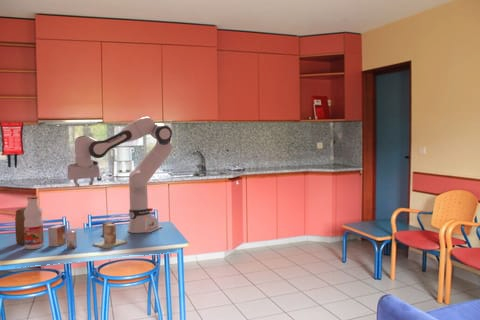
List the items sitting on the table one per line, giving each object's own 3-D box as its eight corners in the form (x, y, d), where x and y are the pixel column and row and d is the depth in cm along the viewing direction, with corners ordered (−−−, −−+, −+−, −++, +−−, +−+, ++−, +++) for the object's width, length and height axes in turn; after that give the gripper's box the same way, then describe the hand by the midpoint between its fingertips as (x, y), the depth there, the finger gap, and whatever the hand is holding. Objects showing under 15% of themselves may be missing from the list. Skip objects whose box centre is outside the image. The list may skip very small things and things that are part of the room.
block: (28, 245, 234) (27, 209, 232) (14, 245, 233) (13, 210, 232) (36, 240, 244) (35, 206, 243) (23, 240, 244) (21, 206, 243)
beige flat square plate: (113, 240, 242) (113, 238, 242) (127, 242, 236) (127, 241, 236) (92, 245, 231) (92, 243, 231) (107, 248, 224) (107, 246, 224)
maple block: (110, 241, 236) (110, 223, 236) (116, 242, 234) (115, 224, 233) (104, 242, 232) (103, 225, 232) (109, 243, 230) (109, 226, 229)
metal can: (73, 246, 230) (72, 230, 229) (78, 247, 227) (78, 231, 227) (64, 248, 226) (64, 231, 225) (70, 249, 223) (69, 233, 222)
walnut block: (109, 232, 261) (109, 221, 261) (114, 233, 259) (114, 222, 258) (102, 234, 257) (102, 223, 257) (108, 235, 255) (107, 224, 254)
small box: (57, 246, 229) (56, 227, 228) (48, 246, 230) (47, 227, 230) (66, 243, 237) (65, 224, 236) (57, 242, 238) (56, 224, 237)
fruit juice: (47, 245, 231) (45, 195, 229) (33, 250, 222) (31, 198, 221) (35, 244, 235) (33, 195, 233) (20, 248, 226) (18, 197, 224)
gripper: (71, 164, 238) (72, 188, 239) (100, 161, 255) (101, 184, 256) (64, 164, 242) (65, 187, 243) (94, 161, 259) (95, 183, 260)
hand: (84, 185), depth 249 cm, fingers open, 8 cm apart
